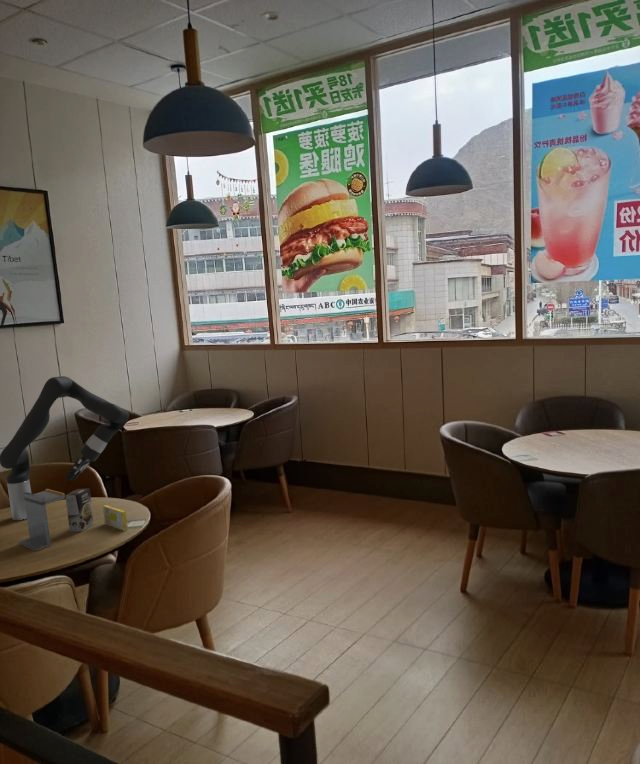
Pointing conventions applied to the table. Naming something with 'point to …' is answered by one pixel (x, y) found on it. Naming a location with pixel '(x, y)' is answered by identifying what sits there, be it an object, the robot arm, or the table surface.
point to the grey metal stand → (39, 518)
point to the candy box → (115, 517)
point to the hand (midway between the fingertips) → (69, 479)
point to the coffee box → (79, 510)
